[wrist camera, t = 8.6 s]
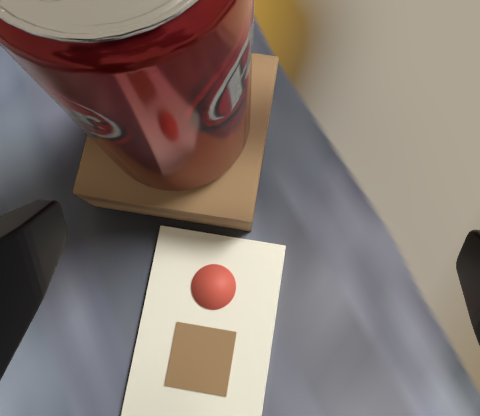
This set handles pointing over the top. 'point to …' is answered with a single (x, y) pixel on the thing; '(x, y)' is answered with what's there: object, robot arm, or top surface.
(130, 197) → the base brick
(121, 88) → the soda can
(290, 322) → the top surface
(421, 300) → the top surface
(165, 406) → the page
